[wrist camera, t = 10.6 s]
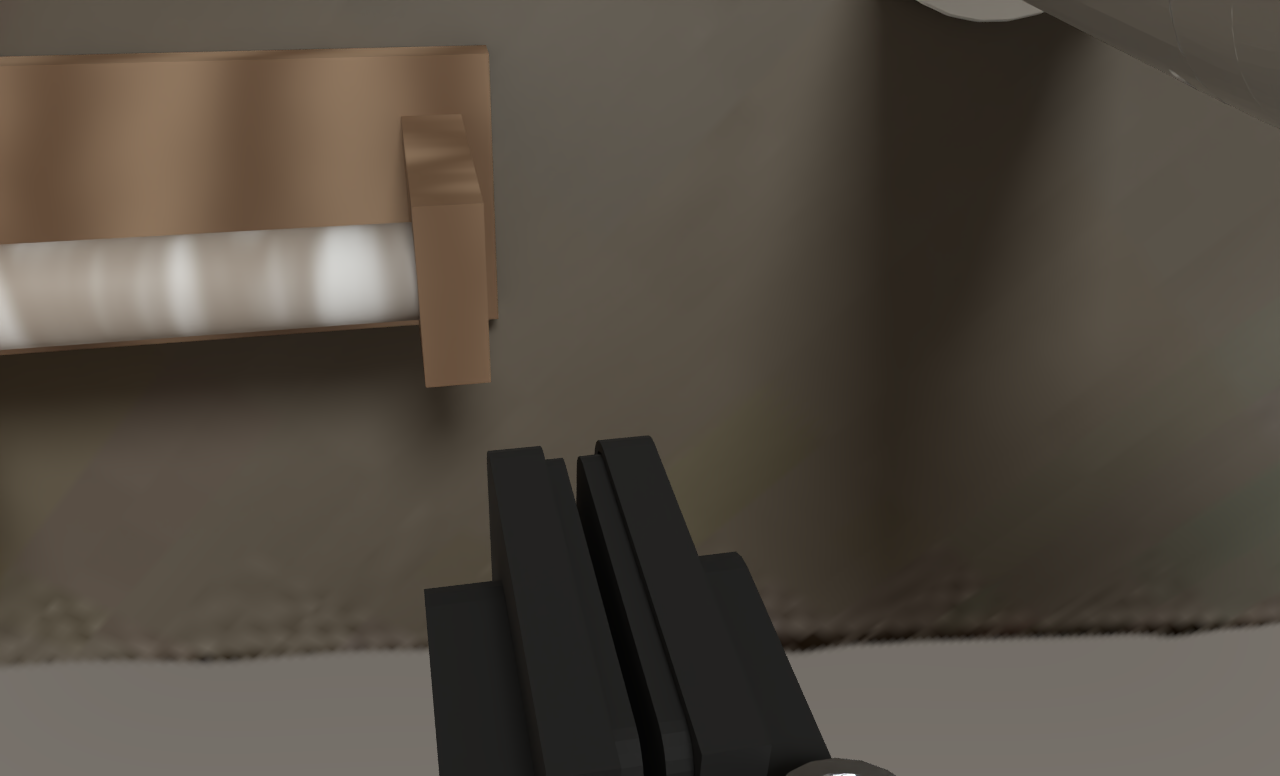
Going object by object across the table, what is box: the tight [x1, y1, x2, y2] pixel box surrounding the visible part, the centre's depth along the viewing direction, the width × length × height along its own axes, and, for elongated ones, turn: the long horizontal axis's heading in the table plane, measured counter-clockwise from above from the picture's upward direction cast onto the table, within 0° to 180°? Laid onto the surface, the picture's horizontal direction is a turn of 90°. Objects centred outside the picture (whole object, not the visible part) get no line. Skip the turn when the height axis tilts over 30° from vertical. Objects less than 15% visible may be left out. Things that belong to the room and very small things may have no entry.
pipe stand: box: [0, 45, 498, 388], centre depth 34 cm, size 28×10×8 cm, turn 88°
